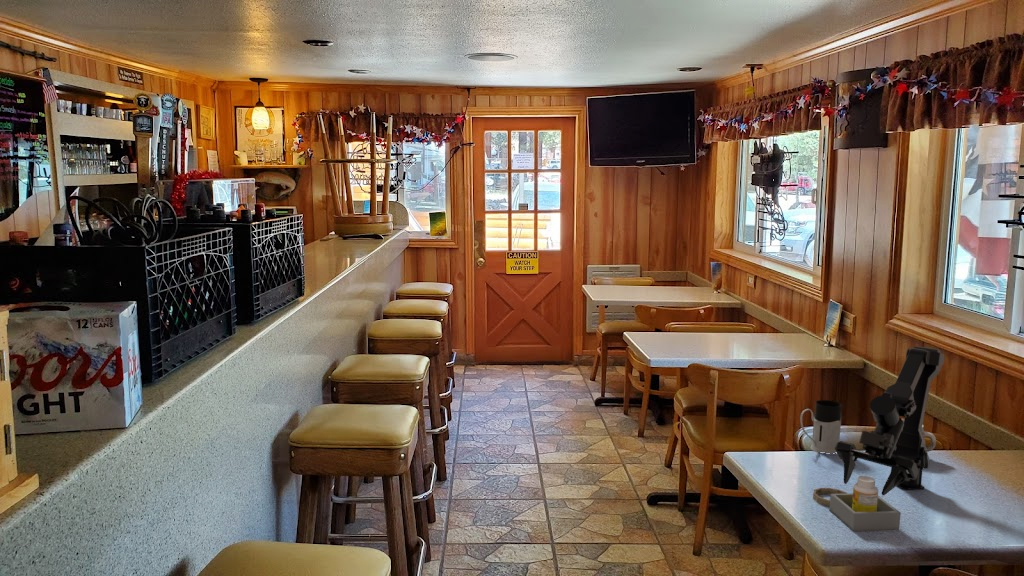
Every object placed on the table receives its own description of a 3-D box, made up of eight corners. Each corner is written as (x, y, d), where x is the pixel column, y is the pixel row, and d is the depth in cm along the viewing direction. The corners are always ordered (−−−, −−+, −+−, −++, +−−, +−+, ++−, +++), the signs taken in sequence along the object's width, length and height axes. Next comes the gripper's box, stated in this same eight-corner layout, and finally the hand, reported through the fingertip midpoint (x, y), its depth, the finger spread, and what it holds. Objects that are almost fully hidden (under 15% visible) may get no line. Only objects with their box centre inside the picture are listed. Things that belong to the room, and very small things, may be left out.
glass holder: (846, 453, 235) (850, 406, 233) (807, 457, 231) (811, 409, 229) (827, 443, 243) (830, 398, 241) (789, 447, 239) (792, 401, 237)
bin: (873, 509, 194) (874, 492, 193) (899, 530, 182) (900, 512, 182) (829, 510, 193) (830, 493, 192) (852, 531, 182) (854, 513, 181)
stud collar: (840, 492, 204) (840, 487, 204) (857, 507, 195) (858, 501, 195) (807, 493, 204) (807, 488, 203) (823, 507, 195) (823, 502, 194)
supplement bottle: (853, 511, 192) (856, 472, 190) (877, 516, 188) (880, 477, 187) (849, 519, 187) (852, 479, 186) (873, 524, 184) (876, 484, 182)
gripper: (840, 409, 194) (817, 461, 188) (917, 427, 180) (895, 484, 174) (852, 433, 200) (829, 483, 194) (927, 451, 186) (906, 507, 180)
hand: (863, 488), depth 186 cm, fingers open, 9 cm apart
